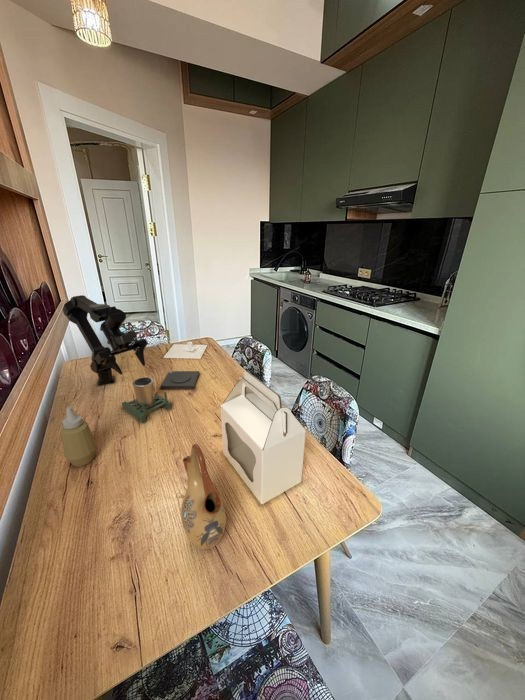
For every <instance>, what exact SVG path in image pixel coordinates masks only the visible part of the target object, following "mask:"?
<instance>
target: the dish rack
mask: <svg viewBox="0 0 525 700" xmlns="http://www.w3.org/2000/svg"><path fill="white" fill-rule="evenodd" d="M154 393H155V392H154ZM163 396H164V397H162V396H161V395H159V394H157V393H155V399H156V402H155V404H153V405H152V406H150V407H145V406H144V402H142V407H139V406H138V405H137V401H136V398H134V399H133V400H131V401H128V402H127V401H125V400H124V401H123V402H121V405H122V409H123V410H124V411H126V412H127V413H128V414H130V415H132V417H134V418H135V419H137V420H138V421H139V422H141V423H142V424H143V423H145V422H146V423H147V417H146V415H147V414H148V413H151V412H153V411H155V410H157V409H159V408H161V407H163V408H166V409H167V410H171V409H172V402H171V401H170V400H168V394H167V391H164V392H163Z"/></svg>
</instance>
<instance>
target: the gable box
mask: <svg viewBox="0 0 525 700" xmlns="http://www.w3.org/2000/svg"><path fill="white" fill-rule="evenodd" d="M220 419H221V420H220V421H221V422H220V423H221V439H222V440H221V441H222V454H223V455H224V456H225V458H226V459H227V460H228V462H229V463H230V464H231V465H232V467H233V468H234V470H235V471H236V472H237V474H238V475H239V476H240V478H241V479H242V480H243V482H244V483H245V484H246V486H247V487H248V489H249V490H250V492H252V494H253V495H254V497H255V498H256V499H257V501H258V502H259V503H260V505H263V504H265V503H267V502H269V501H271V500H273V499H274V498H276V497H278V496H279V495H282V493H285V492H286V491H288V490H290V489H291V488H294V487H295V486H297V485H298V484H300V483H302V478H303V467H304V457H305V455H304V454H305V443H306V433H307V429H305V428H304V427H303V425H302V424H301V423H300V421H299V420H298V419H297V417H296V416H295V415H294V414H293V413H292V411H291V409H289V408H288V407H285V406H282V398H281V395H280V394H279V393H278V392H277V391H275V390H273V389H272V388H271V387H269V386H268V385H267V384H266V383H264V382H263V381H261V380H260V379H259V378H257V377H256V376H255V375H253V374H252V372H249V370H245V371H244V372H243V376H242V375H239V380H238V381H237V382H236V383H235V385H234V386H233V387H232V389H231V390H230V391H229V393H228V394H227V396H226V398H225V399H224V401H223V402H222V403H221V404H220ZM284 434H285V435H284Z"/></svg>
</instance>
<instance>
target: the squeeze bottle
mask: <svg viewBox="0 0 525 700" xmlns="http://www.w3.org/2000/svg"><path fill="white" fill-rule="evenodd" d="M65 411H66V413H65V414H66V415H65V418H63V420H62V421H61V423H62V427H61V428H60V437H61V443H62V450H63V455H64V458H65V459H66V460H67V461H68V462H69V463H70V464H71V465H72V466H73V467H83V466H86V465H88V464H90V463H91V462H92V461H93V460H94V459H95V456H96V451H97V442H96V440H95V438H94V435H93V433H92V430H91V428H90V425H89V423H88V422H87V420H84V419H83V417H82V415H80V414H76V412H75V411H74V409H73V407H72V406H68V407H66V408H65Z"/></svg>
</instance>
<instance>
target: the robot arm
mask: <svg viewBox="0 0 525 700" xmlns="http://www.w3.org/2000/svg"><path fill="white" fill-rule="evenodd" d="M62 313H63V315H64V316H65V317H66V318H67V320H68V321H70V322H71V323H73V324H75V325H76V327H77V328H78V330H79V332H80V333H81V335H82V337H83V339H84V341H85V343H86V344H87V346H88V348H89V350H90V351H91V359H90V360H91V362H90V365H89V367H90V370H91V372H93V373H95V374H97V385H98V386H105V385H108V384H113V383H116V381H115V375H114V374H113V370H114V372H116V373H118V374H119V375H123V371H122V368H121V367H120V366H119V364H118V363H117V358H116V356H117V355H120V354H124V353H127V352H130V351H134V355H135V356H136V358H137V359H138V361H139V362H140V364H141V365H142V366H143V367H145V366H146V361H145V360H146V359H145V354H144V352H145V349H146V348H147V346H148V345H149V342H148V340H147V339H145V338H144V337H143V338H141V339H137V338H138V335H137V332H136V331H135V330H134V329H132V330H129V331H127V333H126V334H125V332H123V331H122V330H121V327H122V325H123V324H124V322H125V321H126V319H127V314H126V312H124V311H123V310H121V309H120V308H117V307H116V305H115V306H111V305H109V304H106V303H98V302H95V301H93V300H91V299H90V298H88V297H87V296H86V295H75V296H74V295H73V296H72V297H70V299H69V300H68V301H67V302H65V303H64V305H63V307H62ZM88 315H89V318H90V319H91V320H92V321H93V322H94V323H101V324H100V328H99V331H100V332H102V333H103V334H104V337H105V338H106V341H107V344H108V345H110V347H111V348H110V347H108V346H106V347H105V346H104V345H103V343H102V342H101V340H100V339H99V337H98V335H97V333H96V331H95V330H94V328H93V327H92V325H91V323H90V321H89V319H88ZM135 339H137V340H135ZM132 342H133V344H131V343H132ZM111 349H112V350H111Z"/></svg>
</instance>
